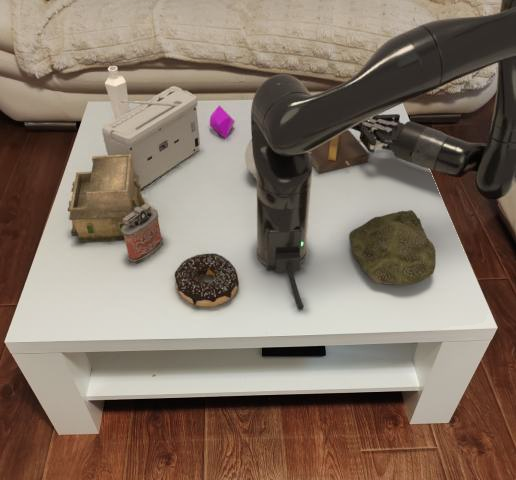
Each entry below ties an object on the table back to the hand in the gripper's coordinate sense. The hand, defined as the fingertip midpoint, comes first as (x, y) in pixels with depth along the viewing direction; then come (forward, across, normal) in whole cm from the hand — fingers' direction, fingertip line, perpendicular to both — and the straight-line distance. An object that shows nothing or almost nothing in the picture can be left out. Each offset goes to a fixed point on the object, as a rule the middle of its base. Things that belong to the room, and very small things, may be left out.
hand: (348, 120), depth 123 cm
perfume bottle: (+47, +22, +8) cm, 52 cm away
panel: (+1, +3, +8) cm, 8 cm away
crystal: (+28, +9, +8) cm, 30 cm away
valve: (+12, +12, +8) cm, 18 cm away
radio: (+31, +28, +8) cm, 42 cm away
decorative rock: (-25, +27, +8) cm, 38 cm away
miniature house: (+28, +47, +8) cm, 55 cm away
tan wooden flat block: (+1, +3, +5) cm, 6 cm away
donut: (0, +51, +8) cm, 51 cm away
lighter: (+16, +50, +8) cm, 53 cm away
